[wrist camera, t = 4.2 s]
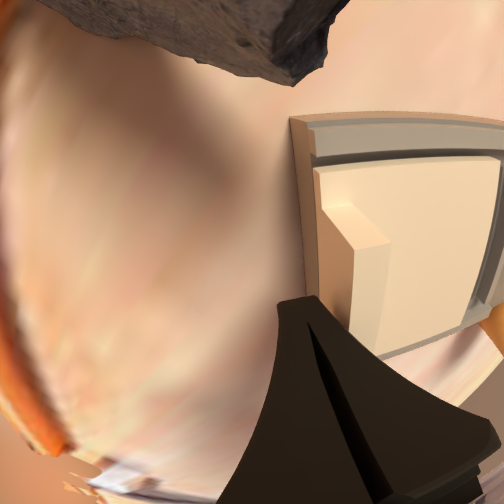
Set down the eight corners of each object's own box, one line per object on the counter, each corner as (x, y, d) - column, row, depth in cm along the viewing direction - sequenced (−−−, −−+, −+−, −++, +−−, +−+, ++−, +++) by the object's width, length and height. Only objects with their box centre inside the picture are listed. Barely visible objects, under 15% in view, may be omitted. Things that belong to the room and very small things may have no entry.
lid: (453, 317, 13) (482, 355, 10) (319, 359, 13) (336, 414, 10) (489, 156, 8) (543, 182, 6) (312, 167, 8) (355, 205, 6)
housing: (520, 267, 16) (543, 289, 13) (307, 336, 16) (322, 382, 13) (545, 130, 10) (577, 144, 7) (289, 117, 10) (315, 124, 7)
